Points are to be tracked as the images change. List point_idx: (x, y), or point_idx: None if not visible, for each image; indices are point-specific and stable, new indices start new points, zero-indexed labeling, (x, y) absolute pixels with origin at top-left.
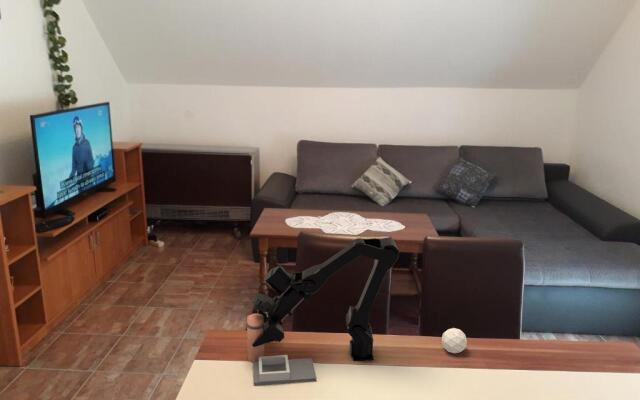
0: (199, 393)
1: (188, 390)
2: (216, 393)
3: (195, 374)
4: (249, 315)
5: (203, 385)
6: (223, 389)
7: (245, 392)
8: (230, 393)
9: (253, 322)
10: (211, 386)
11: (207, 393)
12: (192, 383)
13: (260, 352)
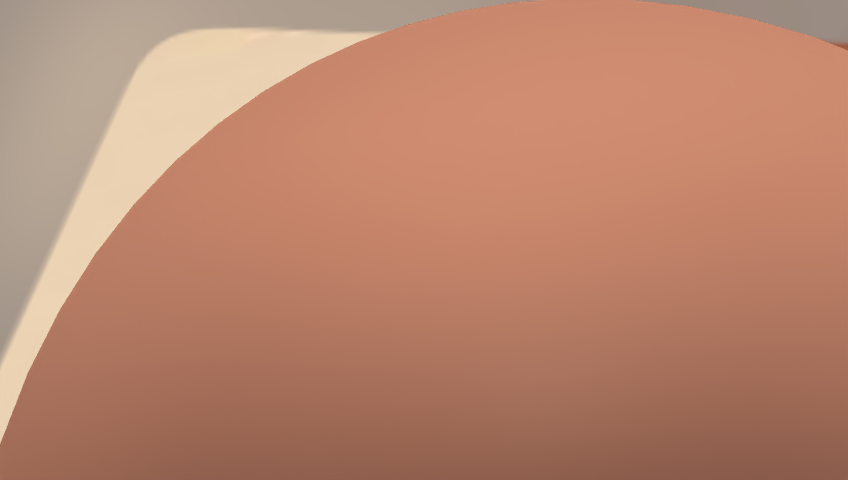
0: (130, 98)
1: (182, 40)
2: (88, 192)
3: (336, 44)
4: (826, 62)
5: (203, 105)
6: (112, 231)
7: (5, 402)
8: (47, 284)
9: (86, 321)
10: (175, 152)
11: (111, 140)
12: (244, 46)
13: None
